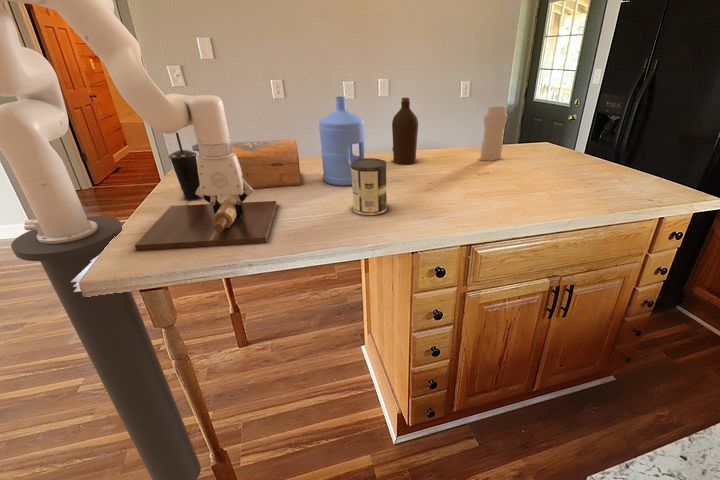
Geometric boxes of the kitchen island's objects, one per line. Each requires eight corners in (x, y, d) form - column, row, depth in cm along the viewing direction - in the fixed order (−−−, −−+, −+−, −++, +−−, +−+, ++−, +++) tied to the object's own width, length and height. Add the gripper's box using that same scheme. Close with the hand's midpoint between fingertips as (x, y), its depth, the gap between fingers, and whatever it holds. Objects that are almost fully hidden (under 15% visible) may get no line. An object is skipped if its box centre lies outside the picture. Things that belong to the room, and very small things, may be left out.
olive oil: (421, 160, 167) (424, 97, 155) (408, 166, 159) (409, 100, 147) (401, 157, 172) (402, 95, 160) (387, 162, 165) (386, 98, 152)
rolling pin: (211, 236, 96) (206, 220, 94) (230, 202, 117) (227, 188, 114) (229, 235, 97) (226, 219, 95) (246, 201, 117) (243, 187, 115)
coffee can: (377, 200, 125) (376, 156, 118) (392, 211, 117) (393, 164, 110) (347, 206, 120) (344, 160, 113) (361, 218, 112) (359, 169, 105)
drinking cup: (211, 195, 127) (196, 131, 117) (192, 203, 121) (174, 136, 111) (195, 191, 130) (178, 129, 120) (175, 199, 124) (156, 133, 114)
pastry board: (136, 250, 94) (134, 245, 93) (172, 210, 116) (170, 205, 115) (266, 242, 98) (265, 237, 97) (276, 205, 120) (276, 200, 120)
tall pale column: (481, 161, 168) (487, 106, 157) (477, 158, 171) (483, 104, 160) (503, 159, 170) (511, 105, 159) (499, 157, 174) (506, 104, 163)
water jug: (320, 186, 136) (312, 99, 122) (326, 173, 150) (319, 94, 136) (365, 186, 137) (362, 100, 123) (367, 173, 150) (364, 94, 136)
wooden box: (299, 172, 151) (295, 135, 144) (302, 185, 137) (297, 145, 130) (216, 177, 144) (207, 138, 137) (209, 192, 130) (199, 149, 123)
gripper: (174, 154, 93) (193, 224, 102) (248, 152, 96) (260, 221, 105) (184, 146, 99) (201, 213, 109) (253, 145, 102) (264, 210, 111)
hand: (230, 216), depth 107 cm, fingers closed on rolling pin, 4 cm apart
